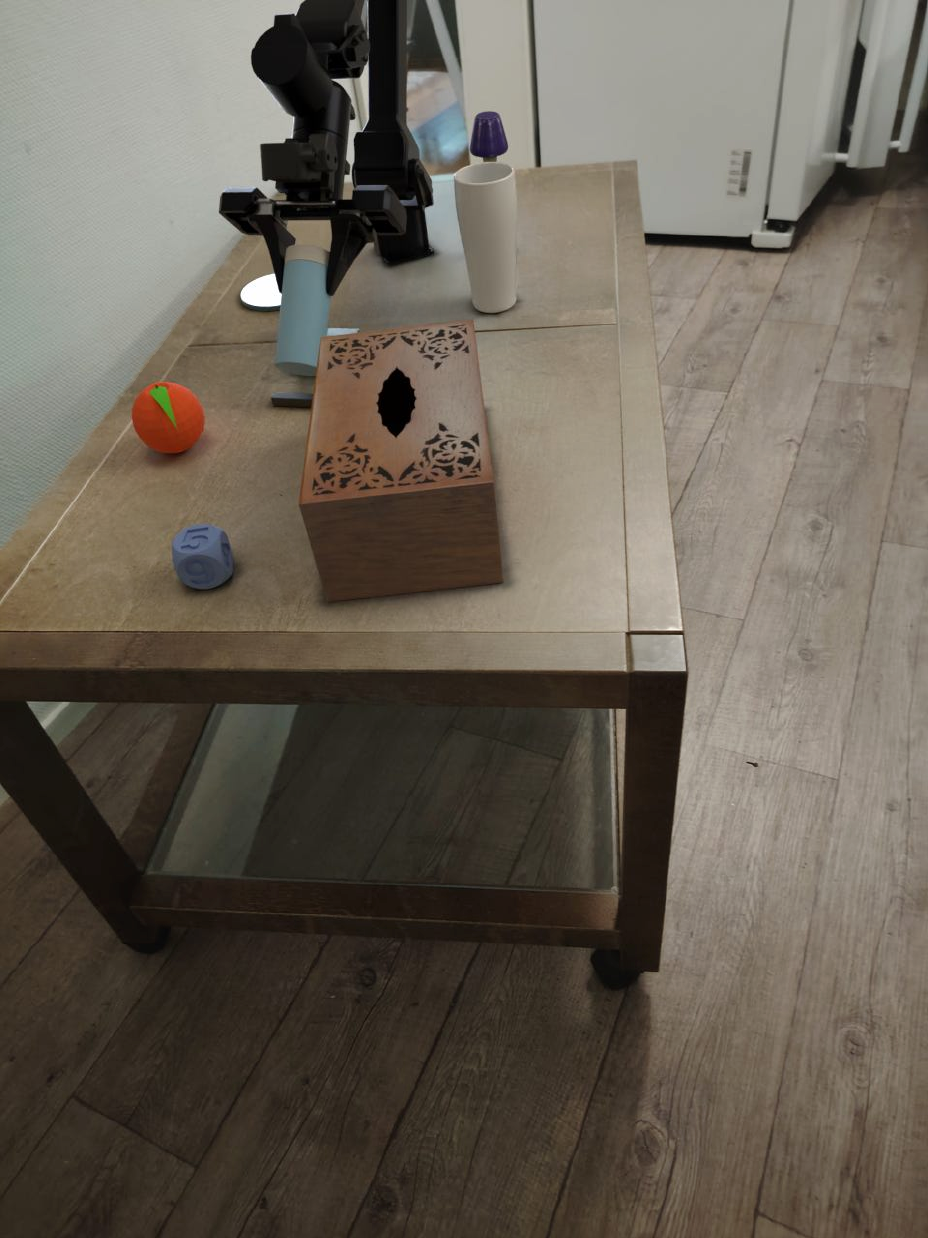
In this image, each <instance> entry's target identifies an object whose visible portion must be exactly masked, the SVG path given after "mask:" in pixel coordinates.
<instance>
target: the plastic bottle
mask: <svg viewBox="0 0 928 1238" xmlns="http://www.w3.org/2000/svg"><path fill="white" fill-rule="evenodd" d="M329 255H330V250H327V249H325V248H322V247H320V246H315V245H312V244H304V243H303V244H301V243H300V244H299V243H298V244H295V245H292V246H289V247H288V248H287V249H286V256H285V266H284V276H283V286H282V296H281V306H280V310H279V317H278V327H277V337H276V348H275V357H274V367H275V368H276V369H277V370H279V371H282V372H284V373H287V374H290V375H297V376H303V377H316V369H317V362H318V354H319V347H320V339H321V337H327V330H328V328H329V317H330V310H331V309H330V308H331V300H332V296H329V295H328V294H327V293H326V277H327V269H328V262H329Z"/></svg>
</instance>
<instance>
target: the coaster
mask: <svg viewBox="0 0 928 1238" xmlns="http://www.w3.org/2000/svg"><path fill="white" fill-rule="evenodd" d="M281 296H282V294H281V293H280V292H279V290H278V286H277V282H276V278H275V274H274V273H271V274H267V275H263V276H261V277H257V278H256V279H255V280H253V281H251V282H249V283H248V284H246V285H245V286H244V287H243V288H242V290H241V292H240V297H239V298H240V300H241V303H242V304H243V306H244V307H246V308H248V309H251V310H254V311H261V312H273V311H280V306H281Z"/></svg>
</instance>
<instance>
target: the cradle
mask: <svg viewBox="0 0 928 1238" xmlns="http://www.w3.org/2000/svg"><path fill="white" fill-rule="evenodd" d="M360 332H361V329H360V328H347V327H346V328H345V327H344V328H341V327H328V330H327V336H335V335H343V334H352V333H360ZM270 400H271V403H272V406H273V407H291V408H293V407H294V408H311V407H312V400H313V393H305V392H282V391H281V392H280V391H279V392H278V391H275V392H274V393H273V394H272V395H271V397H270Z"/></svg>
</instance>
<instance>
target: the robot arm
mask: <svg viewBox="0 0 928 1238" xmlns="http://www.w3.org/2000/svg"><path fill="white" fill-rule="evenodd" d="M366 3H367V6H366V9H367V10H366V11H367V12H366V13H367V30H366V28H365V25H364V22H363V20H362V14H363V9H364V6H365V0H303V1H302V2H301V3H300V4H299V6H298V8H297V11H296V13H293V12H292V13H280V14H274V16H273V17H274V18H273V26H271V27H269V28H267V30H265V31H264V32H263V33H262V34H261V35H260V36H259V37H258V39H257V41H256V42H255V44H254V47H253V48H252V49H251V53H250V64H251V67H252V71H253V73H254V74H255V76H256V77H257V78H258V80H259V81H260V83H261V84H262V85H263V86H264V87H265V89H266V90H267V91H268V92H269V94H270V95H271V96H272V98H273V99H274V100H275V101H276V103H277V104H278V105H279V107H280V108H281V109H282V110H283V111H284V112H285V113H286V114H287V115H289V116H291V117H293V120H292V128H291V129H292V130H291V137H290V138H289V137H287V138H285V139H284V142H271V143H270V142H269V143H259V150H260V166H261V167H260V168H261V180H262V181H263V182H268V181H272V182H275V184H274V188H275V190H276V191H277V192H278V193H279V194H284V195H285V199H272V198H268V197H267V196H266V195H265V194H264V192H262V191H261V189H259V188H258V187H257V186H251V187H250V186H248V187H247V186H246V187H245V186H243V187H227V188H226V189H225V190H223V191H222V192H221V194H220V196H219V203H218V204H219V205H218V214H219V215H220V216H222V217H223V218H224V219H225V220H226V221H227V222H228V223H229V224H231V225H232V226H233V227H234V228H235V229H236V230H238V231H239V232H240V233H241V234H244V235H246V236H262V237H263V239H264V242H265V245H266V247H267V250H268V254H269V257H270V260H271V266H272V269H273V274H275V278H276V282H277V286H278V290H279V292H280V293H281V294H282V286H283V276H284V266H285V256H286V249H287V248H288V247H289V246H292V245H296V242H297V241H296V239H297V238H296V237H295V236H294V235H293V234H292V233H291V232H290V231H289V230H288V224H289V223H288V222H289V221H292V222H293V221H295V222H297V221H330V222H329V223H330V230H331V241H330V247H329V248H330V249H329V252H330V255H329V262H328V269H327V277H326V293H327V294H328V295H329V296H331V297H333V296H334V295H336V292H337V290H338V288H339V287H340V285H341V283H342V282H343V280H344V278H345V276H346V275H347V273H348V271H349V270H350V268H351V266H352V265H353V263H354V262H355V260H356V259H357V258H358V256H359V255H360V253H361V252H362V251H363V250H364V248H365V247H366V246H367V244H373V248H374V251H375V253H376V254H377V255H378V256H379V257H380V258H381V259H383V260H384V261H385V262H386V263H387V265H388V266H395V265H398V264H402V263H406V262H410V261H412V260H416V259H419V258H425V257H427V256H431V255H434V254H435V249H434V248H433V247H432V246H431V245H430V241H429V233H428V228H427V227H428V226H427V225H428V224H427V218H426V217H427V216H426V209H427V208H430V207H433V206H434V204H435V202H434V188H433V180H432V178H431V175H430V174H429V173H428V170H427V169H426V167H425V166H424V164H423V162H422V161H421V159H420V157H421V156H420V148H419V146H418V144H417V142H416V140H415V138H414V136H413V134H412V132H411V130H410V128H409V126H408V123H407V119H408V118H407V117H408V116H407V111H408V109H407V106H408V105H407V99H408V97H407V95H408V94H407V92H408V91H407V90H408V83H407V82H408V79H407V78H408V77H407V74H408V72H407V71H408V70H407V67H408V66H407V65H408V60H407V59H408V0H366ZM365 66H367V102H368V103H367V106H368V107H367V108H368V109H367V111H368V112H367V121H366V123H365V125H364V126H363V129H362V130H361V131H356V132H355V134H354V137H353V158H354V159H353V162H352V165H351V164H350V162H349V161H348V160H347V155H348V145H349V144H348V143H349V136H350V135H349V133H350V125H351V124H350V123H351V121H355V120H356V117H357V116H356V111H355V107H354V105H353V103H352V98H351V96H350V94H349V93H348V92H347V90H346V89H345V87H344V86H342V84H341V83H340V82H337V80H339V81H340V80H357V79H360V78H361V76H362V75H363V74H364V71H365ZM351 166H352V167H351ZM350 174H351V182H352V186H353V188H352V193H351V198H350V199H348V198H347V199H344V188H345V177H346V176H350Z"/></svg>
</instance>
